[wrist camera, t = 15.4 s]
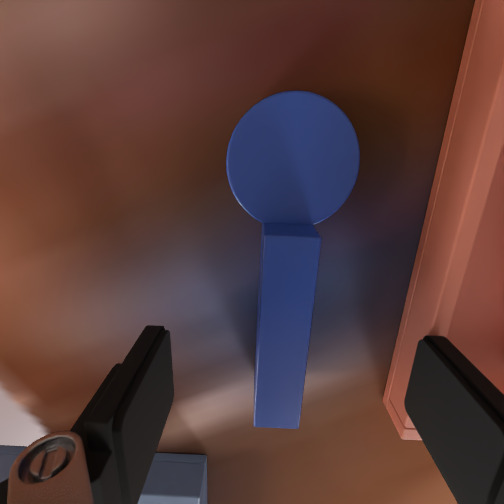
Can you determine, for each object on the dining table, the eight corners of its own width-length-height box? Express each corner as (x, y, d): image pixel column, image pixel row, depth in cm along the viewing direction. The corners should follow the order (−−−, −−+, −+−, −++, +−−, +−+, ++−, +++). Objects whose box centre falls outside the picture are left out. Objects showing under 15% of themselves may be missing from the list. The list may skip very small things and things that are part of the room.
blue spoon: (319, 377, 13) (333, 431, 10) (226, 373, 13) (219, 425, 11) (357, 99, 9) (393, 82, 7) (230, 94, 9) (220, 75, 7)
